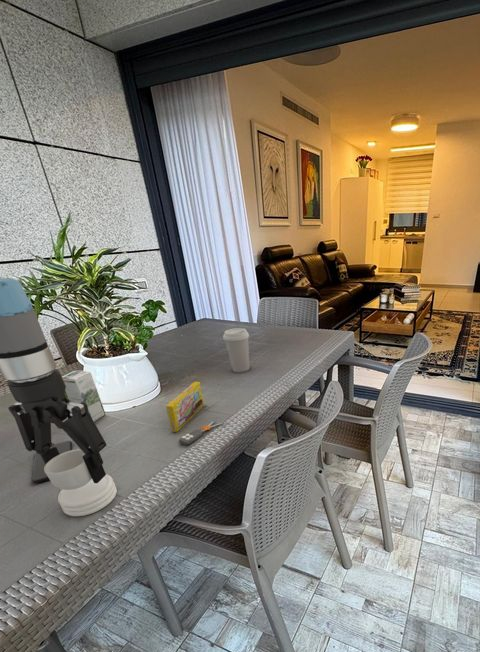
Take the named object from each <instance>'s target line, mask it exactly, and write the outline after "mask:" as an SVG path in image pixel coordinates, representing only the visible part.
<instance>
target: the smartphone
mask: <svg viewBox="0 0 480 652" xmlns="http://www.w3.org/2000/svg"><path fill="white" fill-rule="evenodd" d="M72 442H73V441H71V440H65V441H62V442H59V443H53V444H54V445H53V446H51V447H50V449H51V448H53V447H57V450H58V452H59V454H62V453H64V452H67V451H71V450H73V443H72ZM45 465H46V464H45V463H44V461H43V459H42V457H41V455H40V454H38V453H37V452H36V451H35V454H34V463H33V469H32V476H31V483H33V484H39V483H42V482H45V481H50V479H49V478H48V476H47V474H46V473H45V471H44V467H45Z"/></svg>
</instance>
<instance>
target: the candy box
mask: <svg viewBox="0 0 480 652" xmlns="http://www.w3.org/2000/svg"><path fill="white" fill-rule="evenodd" d="M204 406H205V403H204V398H203V393H202V387H201V382H200V381H193V382H192V383H190V385H189V386H188V387H186V388H185V389H184V390H183V391H182V392H181V393H179V394H178V395H177V396H176V397H175V398H173V399H172V400H171V401H170V402H168V403H167V404H166V405H165V407H166V413H167V416H168V422H169V426H170V429H171V432H172V433H178V432H179V431H180V430H181V429H183V427H184V426H185V425H186V424H187V423H188V422H189V421H190V420H191V419H192V418H193V417H194V416H195V415H196V414H197V413H198V412H199V411H200V410H201V409H202V408H203V407H204Z"/></svg>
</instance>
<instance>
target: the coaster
mask: <svg viewBox="0 0 480 652" xmlns="http://www.w3.org/2000/svg"><path fill="white" fill-rule="evenodd" d="M117 489H118V488H117V486H116V483H115V482H114V478H113V477H112V476H110V475H109V474H107V473H106V475H105V476H104V477H103V478H102V479H101V480H100V481H99V482H98V483H94V482H93V480H92V479H91V480H90V481H89V482H88V483H87V484H86V485H84V486H82V487H80V488H78V489H73V490H63V489H61V490H60V492H59V493H58V496H57V502H58V504H59V505H60V507H61V509H62V511H63V513H64V514H66V515H67V516H70V517H84V516H88V515H91V514H94V513H96V512H99V511H100V510H102V509H104V508H106V507H107V506H108V505H109V504H111V502H113V500H114V499H115V497H116V496H117V492H118V491H117Z"/></svg>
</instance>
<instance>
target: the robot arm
mask: <svg viewBox="0 0 480 652" xmlns="http://www.w3.org/2000/svg"><path fill="white" fill-rule="evenodd" d="M57 368H58V366H57V362H56V361H55V358H54V356H53V354H52V351H51V349H50V346H49V344H48V342H47V339H46V337H45V334H44V332H43V328H42V327H41V324H40V322H39V319H38V316H37V315H36V312H35V309H34V307H33V303H32V301H31V300H30V298H29V297H28V295H27V293H26V291H25V289H24V287H23V285H22V284H21V282H20V281H19V280H17V279H15V278H11V277H0V374H1V377H2V378H3V379H4V380H6V381H7V382H6V385H7V387H8V390H9V391H10V393H11V395H12V396H13V399H14V400H15V403H13V404H12V405H10V406H8V408H7V409H8V411H9V412H10V413H11V415H12V416H13V418H14V419H15V423H16V425H17V428H18V430H19V433H20V436H21V440H22V442H23V445H24V447H25V449H26V450H27V451H28V452H33V451H35V453H36V452H37V453H38V454H40V455H41V457H42V459H43V461H44V463H45V464H47V463H48V462H49V461H50V460H51V459H53V458H54V457H56V456H58V455H60V454H59V452H58V450H57V447H53V448H51V449H50V447H51V446H53V445H54V444H55V443H54V442H52V424H54V425H55V426H56V427H57V428H58V429H59V430H63V431H64V433H65V434H66V435H67V436H68V437H69V438H70V439H71V440H72V442H74V444H75V445H76V446H77V447H78V449H81V450H82V451H83V452H84V453H85V455H84V456H82V457H83V460H84V462H85V464H86V466H87V469H88V471H89V473H90V475H91V477H92V480H93V482H94V483H98V482H99V481H100V480H101V479H102V478H103V477H104V476H105V475H106V474H107V473H106V470H105V468H104V466H103V464H104V460H103V458H102V455H101V453H100V452H101V451H102V450H103V449H104V448H106V447H107V442H106V441H105V439H104V437H103V435H102V434H101V432H100V430H99V428H98V426H97V425H96V423H95V422H94V421H93V419H92V418H91V416H90V414H89V412H88V407H87V404H86V403H85V402H81V403H79V404H76V403H71V401H70V400H69V399H68V398H67V397H66V395H65V389H66V385H65V383H64V381H63V378H62V376H63V375H62V374H61V371H60V370H59V369H57Z"/></svg>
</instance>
